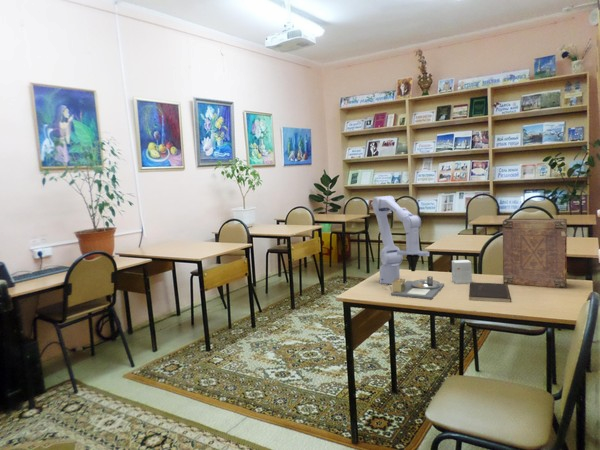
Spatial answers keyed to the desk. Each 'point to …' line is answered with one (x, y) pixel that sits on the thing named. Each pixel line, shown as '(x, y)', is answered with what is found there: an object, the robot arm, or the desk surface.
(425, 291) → the pad
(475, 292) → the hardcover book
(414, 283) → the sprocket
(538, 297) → the desk surface
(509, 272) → the book
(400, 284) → the link block
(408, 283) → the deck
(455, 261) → the small box
